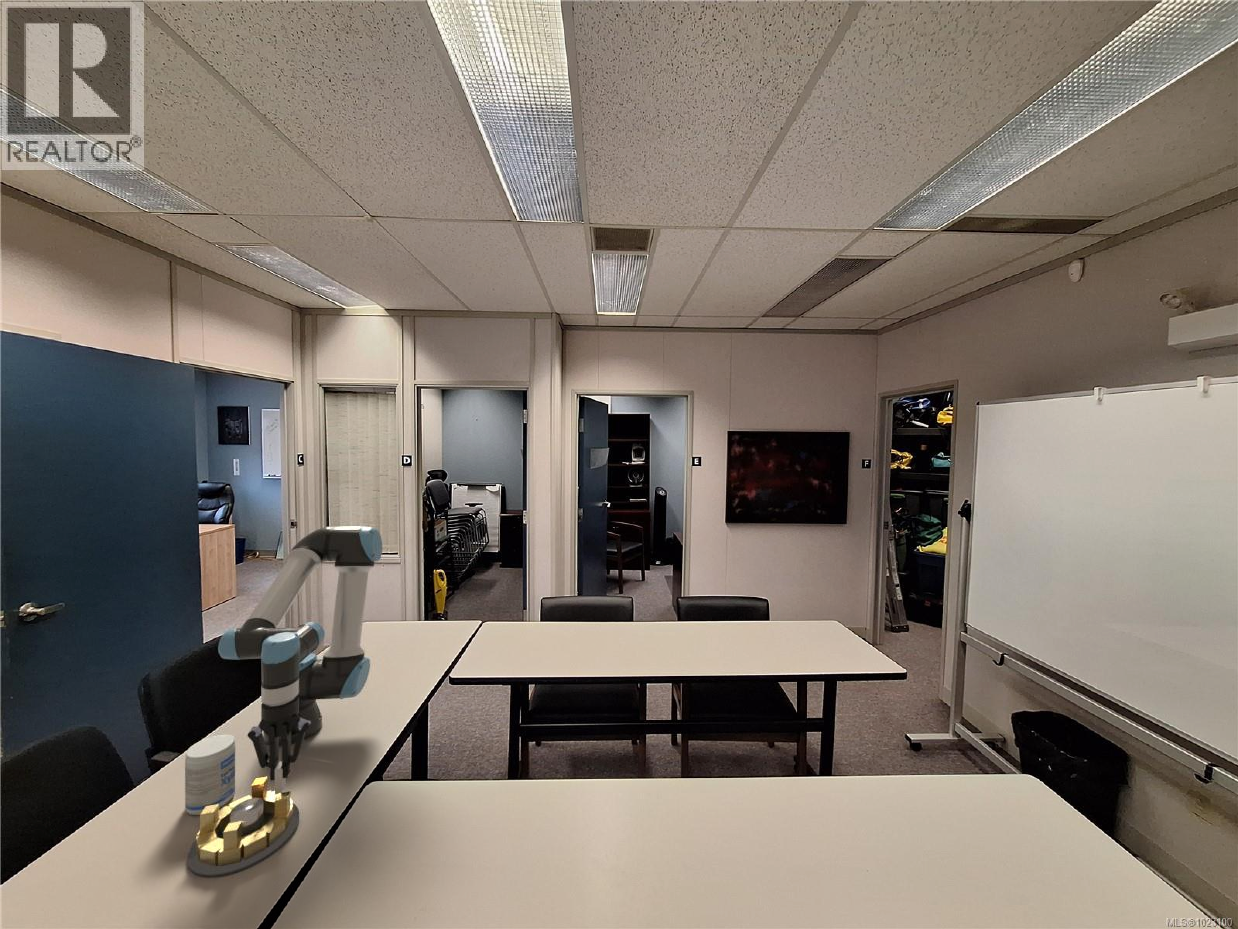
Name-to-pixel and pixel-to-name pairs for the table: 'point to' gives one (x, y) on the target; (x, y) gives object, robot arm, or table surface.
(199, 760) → the supplement tub
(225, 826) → the yellow block ring
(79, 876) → the table surface
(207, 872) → the spindle base
